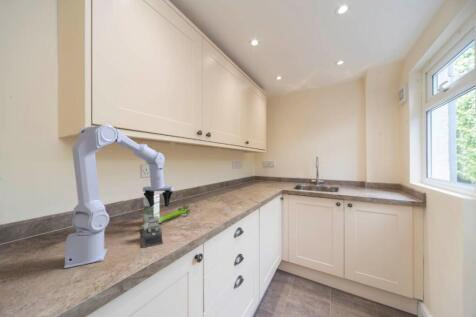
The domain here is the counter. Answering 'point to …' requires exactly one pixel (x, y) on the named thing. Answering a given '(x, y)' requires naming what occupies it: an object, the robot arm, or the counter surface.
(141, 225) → the leek
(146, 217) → the syrup box
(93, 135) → the robot arm
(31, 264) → the counter surface
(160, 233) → the stand
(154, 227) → the column
